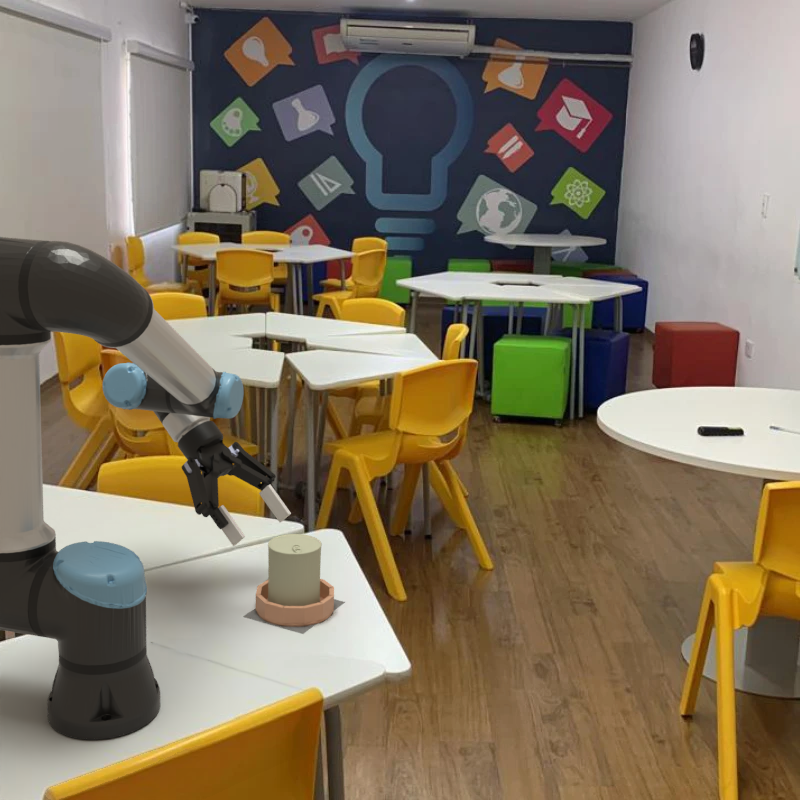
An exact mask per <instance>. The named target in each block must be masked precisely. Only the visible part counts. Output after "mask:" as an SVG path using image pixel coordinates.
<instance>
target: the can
mask: <svg viewBox="0 0 800 800" xmlns="http://www.w3.org/2000/svg"><path fill="white" fill-rule="evenodd" d="M322 545H323V544H322V542H321V540H320V539H318V538H317V537H315V536H312V535H308V534H301V533H288V534H281V535H279V536H275V537H272V538H270V539H269V541H268V544H267V547H268V549H267V550H268V552H267V555H268V561H267V563H268V579H267V580H268V601H269V602H272V603H276V604H280V605H283V606H306V605H310V604H314V603H318V602H320V579H321V564H322V563H321V558H322V557H321V556H322Z"/></svg>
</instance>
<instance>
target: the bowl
mask: <svg viewBox="0 0 800 800" xmlns="http://www.w3.org/2000/svg"><path fill="white" fill-rule="evenodd" d="M256 587H257V588H256V593H255V608H256V611H257V614H258V616H259V617H260V618H262V619H263V620H265V621H266V622H269V623H272V624H275V625H279V626H287V627H302V626H309V625H314V624H316V625H317V624H320V623H323V622H325V621H326V620H327V619H329V618H330V617H331V616H332V615H333V614H334V611H335V610H334V599H335V587H334V585H332V584H330V583H329V582H328V581H326V580H325V579H323V578H320V602H318V603H314V604H310V605H306V606H283V605H280V604H276V603H272V602H269V601H268V579H266V580H265V581H263V582H261V583H260V584H259V585H257V586H256ZM314 626H315V625H314Z"/></svg>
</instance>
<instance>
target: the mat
mask: <svg viewBox="0 0 800 800" xmlns="http://www.w3.org/2000/svg"><path fill="white" fill-rule="evenodd" d="M345 603H346V601H343V600H339V599H335V598H334V611H336V610H337V609H338V608H339V607H341V606H342V605H343V604H345ZM242 617H243V618H246V619H249V620H252V621H256V622H259V623H263V624H265V625H266V624H267V625H270V626H274V627H278V628H281V629H284V630H287V631H290V632H295V633H299V634H302V635H304V634H305V633H306V632H307V631H309V630H310V629H311V628H313V627H315V625H317V624H314V625H309V626H302V627H287V626H279V625H275V624H272V623H269V622H266V621H265V620H263V619H262V618H260V617H259V616H258V614H257V611H256V607H255V608H254V609H252V610H251V611H249V612H247V613H246V614H245V615H243V616H242Z"/></svg>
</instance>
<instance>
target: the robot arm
mask: <svg viewBox="0 0 800 800" xmlns="http://www.w3.org/2000/svg"><path fill="white" fill-rule="evenodd" d="M154 306H155V305H154V302H153V299H152V296H151V295H150V293H149V291H148V290H146V288H145V287H143V285H141V284H140V282H138V281H137V280H136V279H135V278H134V277H133V276H131V274H130V273H128V272H126V271H125V270H124V269H123V268H121V267H119V266H118V265H117V264H116V263H115V262H113V261H111V260H109V259H108V258H106V257H104V256H103V255H101V254H99V253H98V252H95V251H94V250H92V249H89V248H87V247H85V246H83V245H82V246H81V245H80V244H76V243H72V242H70V241H69V242H68V241H62V240H42V239H41V240H40V239H30V238H29V239H26V238H18V237H17V238H16V237H6V236H5V237H3V236H0V631H5V632H12V633H17V634H24V635H28V636H29V635H30V636H34V637H40V638H41V637H42V638H47V639H48V638H49V639H54V640H56V641H57V648H58V666H57V670H56V672H55V675H54V678H53V679H54V680H53V682H52V687H51V690H50V692H49V693H48V694H49V695H48V696H47V697H48V698H47V703H46V705H47V707H46V708H47V720H48V723H49V725H50V727H52V728H53V730H54V731H56V732H57V733H60V734H61V735H64V736H66V737H70V738H72V739H73V738H74V739H80V740H107V739H113V738H117V737H118V738H119V737H120V736H121V737H122V736H124V735H128V734H131V733H133V732H135V731H137V730H140V729H141V728H143V727H145V726H147V725H148V724H149V723H150V722H151V721H153V720H154V719H155V717H156V716H157V715H158V714H159V711H160V710H161V709H160V708H161V689H160V685H159V682H158V680H157V679H156V678H155V674H154V670H153V667H152V665H151V663H150V662H151V661H150V660H149V657H148V654H147V650H148V649H147V591H148V587H147V582H146V576H145V567H144V563H143V562H142V560H141V558H140V557H139V555H137V554H136V553H135V552H134V551H133V550H131V549H130V548H127V547H126V546H123V545H120V544H117V543H113V542H109V541H108V542H107V541H101V540H94V541H93V542H89V541H79V542H74V543H71V544H68V545H66V546H64V547H63V548H61V549H60V550H59V551H57V541H56V540H57V539H56V538H57V537H56V535H57V534H56V531H55V529H54V528H53V527H51V525H49V524H47V522H46V521H45V520H44V488H43V485H44V484H43V482H44V481H43V455H42V454H43V452H42V449H43V448H42V447H43V446H42V444H43V441H42V410H41V409H42V408H41V407H42V405H41V374H40V372H41V370H40V369H41V368H40V353H41V352H42V350H44V348H45V347H47V345H49V343H50V342H51V341H52V340H51V339H52V335H51V333H52V332H54V333H55V332H56V333H63V334H64V333H66V334H75V335H80V336H84V337H88V338H90V339H92V340H94V342H96V343H97V344H99V345H101V346H103V347H105V348H110V349H116V350H117V351H119V352H120V353H121V354H122V355H123V356H125V357H126V358H127V359H128V361H131V362H128V361H127V362H126V363H117V364H115V365H113V366H112V367H110V368H109V369H108V370H107V372H106V373H105V375H104V377H103V380H102V391H103V395H104V397H105V399H106V400H107V402H108V403H109V404H110V405H112V406H113V407H115V408H118V409H123V410H129V411H130V410H131V411H132V410H142V411H149V412H150V411H151V412H153V413H154V414H155V416H156V417H157V419H158V420H159V421H160V422H161V424H162V426H163V427H164V429H165V430H166V431H167V433H168V435H169V437H170V438H171V439H172V441H173V442H175V443H177V447H178V448H179V450H180V451H181V453H182V455H183V456H184V457H185V459H186V461H185V463H183V464H182V465H181V469H182V471H183V473H184V475H185V476H186V479H187V483H188V487H189V492H190V495H191V499H192V504H193V508H194V512H195V513H196V515H198V516H200V515H202V516H203V518H208V517H209V516H210V518H211V520H212V521H213V522H214V524H215V525H216V527H217V528H218V529H219V530H221V531H222V532H223V534H224V535H225V537H226V538H227V539H228V541H229V542H230V544H231V545H232V546H233V547H234V546H235V547H236V545H237V544H239V543H240V542H241V541H242V540H243V539H245V537H246V535H245V534H244V533H243V531H242V529H241V528H240V526H239V525H238V524H237V522H236V521H235V519H234V518H233V517H232V515H231V514H230V512H229V511H228V509H227V508H226V507H225V505H224V504H222V505H221V506H220V505H219V503H220V502H219V478H220V477H224V476H226V475H227V476H234V477H235V478H238V479H240V480H242V481H243V482H245V483H246V484H249V485H250V486H252V487H254V488H255V489H258V490H259V491H260V492H259V493H258V495H260V497H261V498H262V500H263V501H264V503H265V504H266V506H267V507H268V509H270V511H271V513H272V514H273V515H274V517H275V518H276V519H277V521H278V522H279V523H282V522H283V521H284V520H286V519H287V517H289V516H290V515H291V514H292V512H291V511H290V510H289V508H288V506H287V505H286V504H285V502H284V501H283V500H282V497H281V495H280V494H279V493H278V491H277V489H276V488H275V487H274V485H273V483H274V482H275V481H276V480H275V479H276V474H275V473H274V472H272V471H271V470H270V469H269V468H267V467H266V466H265V465H263V464H262V463H261V462H260V461H258V459H256V458H255V457H253V456H252V455H251V454H250V453H249V452H247V451H246V450H245V449H244V448H243V447H242V446H241V444H240V443H239V442H237V441H234V443H232V444H231V445H230V446H229V447H228V446H227V445H225V444H224V435H223V433H222V432H221V430H220V429H219V427H218V426H217V424H216V423H215V422H214V421H213V420H210V419H211V418H212V419H214V420H216V419H233V418H235V417H236V416H237V415H238V414H239V412H240V410H241V409H242V404H243V401H244V393H245V392H244V391H245V390H244V384H243V381H242V379H241V377H240V375H238V374H235V373H230V372H226V371H223V372H222V371H216V370H215V368H213V367H212V366H211V364H209V363H208V362H207V361H206V360H205V359H204V358H203V357H202V356H201V355H200V354H199V353H198V351H197V350H195V349H194V348H193V347H192V346H191V345H190V344H189V343H188V342H187V341H186V339H184V337H183V336H182V335H181V334H179V333H178V332H177V331H176V330H175V329H174V328H173V327H172V325H170V323H169V322H168V321H166V319H164V317H163V316H162V315H161V314H160V313H159V312H158V311H156V309H155V307H154Z"/></svg>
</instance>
